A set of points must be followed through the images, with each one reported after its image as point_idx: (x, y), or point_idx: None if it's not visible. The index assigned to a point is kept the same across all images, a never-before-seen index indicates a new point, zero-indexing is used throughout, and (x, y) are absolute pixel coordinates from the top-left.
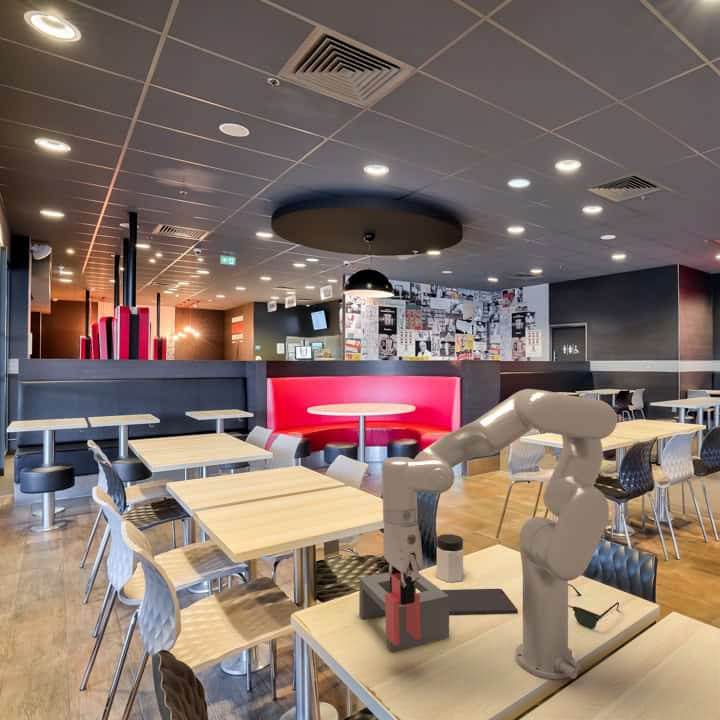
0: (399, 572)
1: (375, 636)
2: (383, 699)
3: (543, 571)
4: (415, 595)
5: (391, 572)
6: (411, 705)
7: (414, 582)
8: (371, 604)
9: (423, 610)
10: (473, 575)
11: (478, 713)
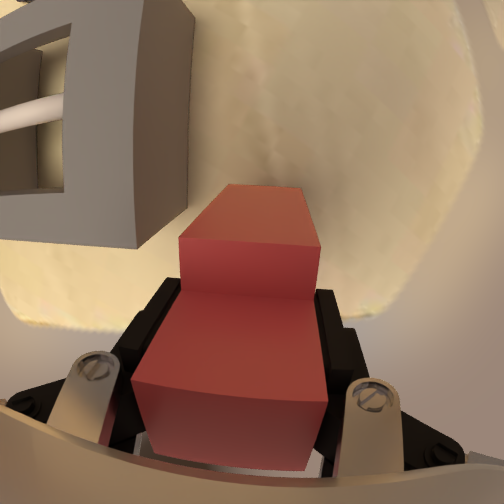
0: (126, 395)
1: None
2: (340, 312)
3: None
4: (304, 272)
5: (138, 452)
6: (388, 271)
7: (423, 428)
8: (15, 186)
9: (150, 83)
10: None
11: (472, 162)
